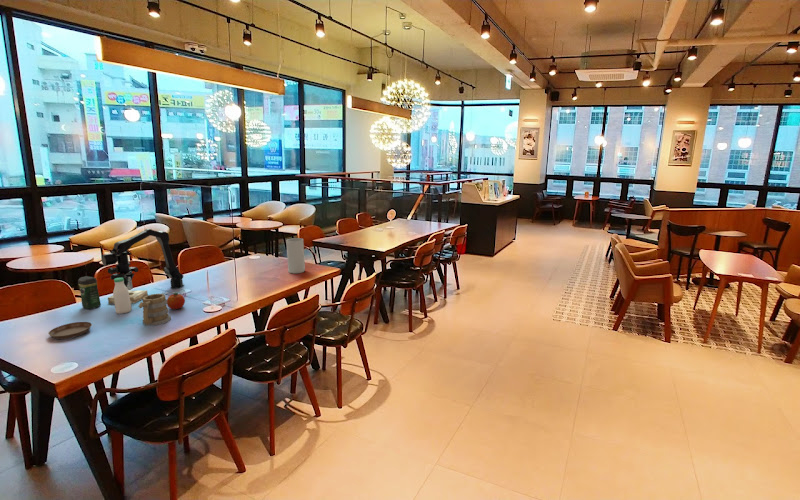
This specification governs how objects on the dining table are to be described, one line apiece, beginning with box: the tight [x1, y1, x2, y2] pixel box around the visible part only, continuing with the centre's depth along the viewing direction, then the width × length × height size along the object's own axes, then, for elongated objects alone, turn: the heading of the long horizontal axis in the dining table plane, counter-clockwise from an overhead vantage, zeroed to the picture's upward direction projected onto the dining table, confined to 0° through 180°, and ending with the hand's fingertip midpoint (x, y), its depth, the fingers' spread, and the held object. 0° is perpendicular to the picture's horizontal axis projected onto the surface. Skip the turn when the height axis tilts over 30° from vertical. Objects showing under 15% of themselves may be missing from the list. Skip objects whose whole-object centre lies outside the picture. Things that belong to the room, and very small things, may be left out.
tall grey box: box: [127, 277, 134, 291], centre depth 266 cm, size 5×3×8 cm, turn 90°
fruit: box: [166, 292, 186, 310], centre depth 252 cm, size 10×10×10 cm
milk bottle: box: [112, 278, 132, 315], centre depth 246 cm, size 8×8×20 cm
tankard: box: [138, 293, 172, 326], centre depth 229 cm, size 20×13×15 cm, turn 178°
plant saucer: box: [48, 321, 93, 340], centre depth 218 cm, size 18×18×3 cm
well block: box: [107, 289, 149, 304], centre depth 268 cm, size 16×14×4 cm
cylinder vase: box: [285, 237, 306, 274], centre depth 327 cm, size 12×12×25 cm
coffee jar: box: [77, 275, 101, 310], centre depth 254 cm, size 10×8×19 cm
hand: (127, 286), depth 267 cm, fingers closed on tall grey box, 3 cm apart
